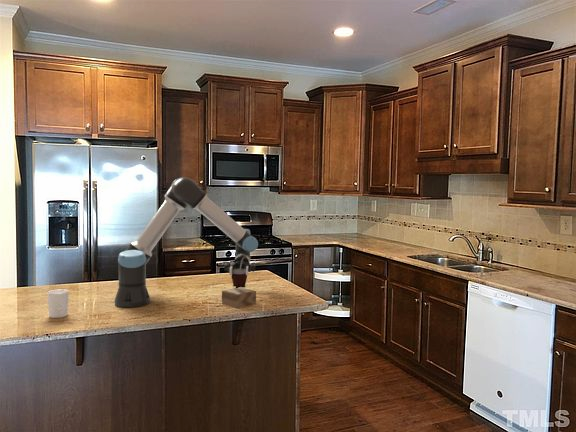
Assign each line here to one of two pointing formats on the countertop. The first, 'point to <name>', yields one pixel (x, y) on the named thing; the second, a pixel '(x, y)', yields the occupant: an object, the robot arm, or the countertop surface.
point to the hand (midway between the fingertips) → (238, 271)
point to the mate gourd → (239, 276)
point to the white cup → (58, 303)
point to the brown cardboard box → (238, 297)
